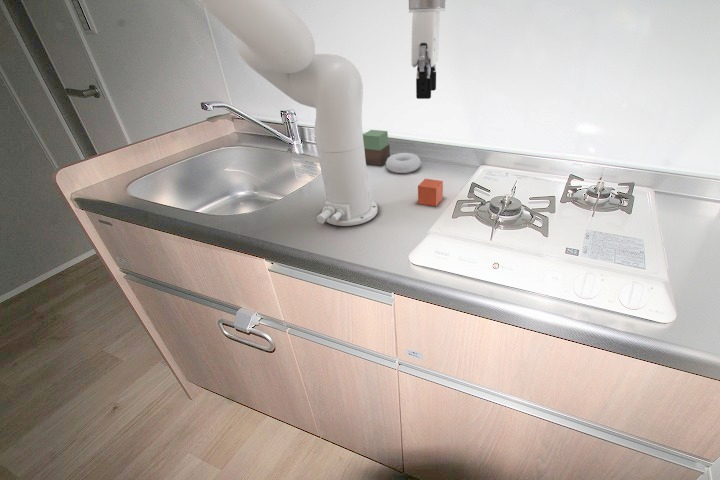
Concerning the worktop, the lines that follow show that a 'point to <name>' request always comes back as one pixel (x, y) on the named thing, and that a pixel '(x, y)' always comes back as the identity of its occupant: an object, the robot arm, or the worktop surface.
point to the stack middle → (375, 139)
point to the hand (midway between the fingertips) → (426, 94)
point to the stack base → (377, 156)
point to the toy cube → (430, 192)
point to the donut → (403, 162)
